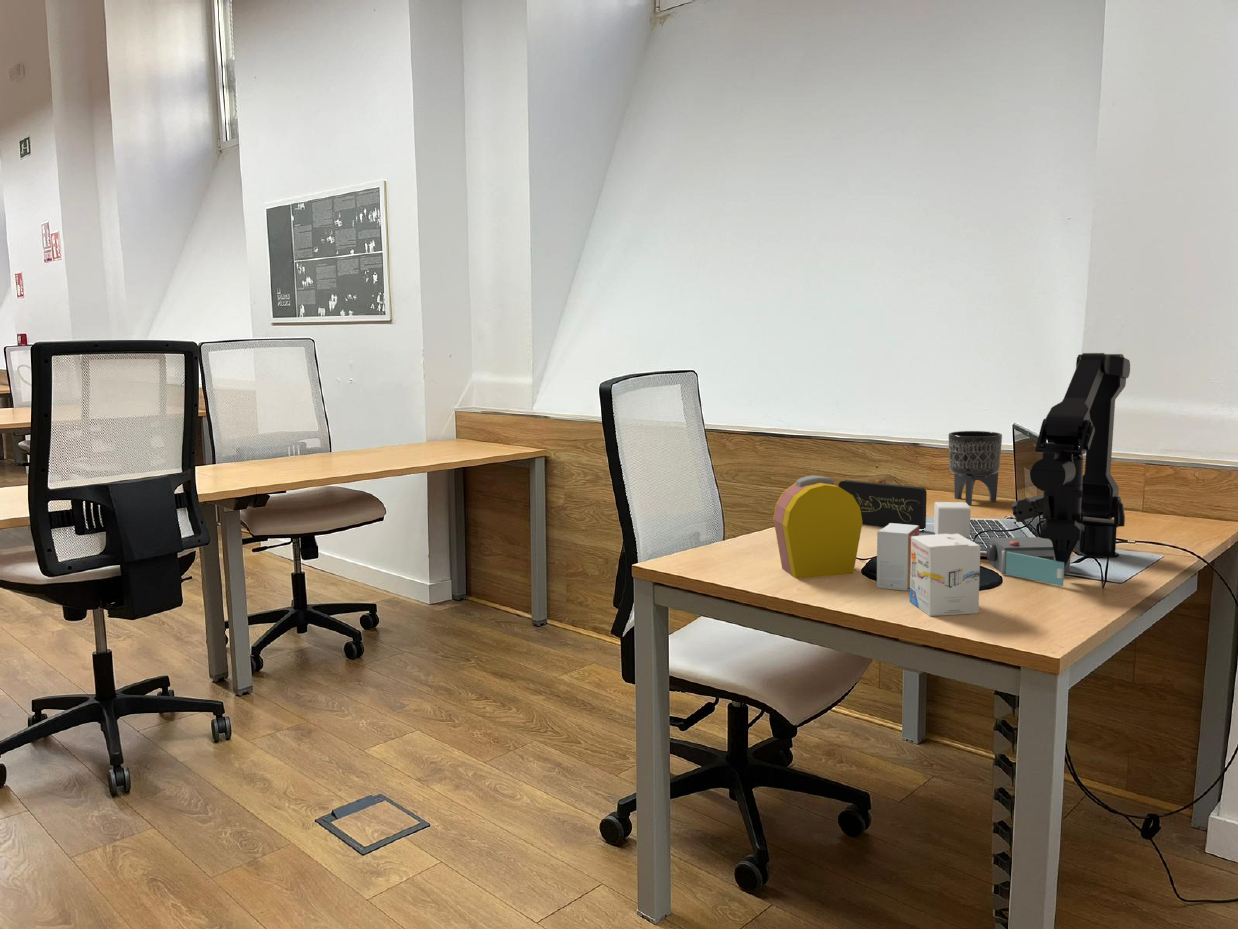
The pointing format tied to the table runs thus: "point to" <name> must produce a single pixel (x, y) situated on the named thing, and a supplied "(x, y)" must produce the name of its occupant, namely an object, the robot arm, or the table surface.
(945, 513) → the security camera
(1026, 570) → the side door
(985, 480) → the planter
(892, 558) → the small box
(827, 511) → the yellow arched block
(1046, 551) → the box
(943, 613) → the ink box
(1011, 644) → the table surface
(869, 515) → the nameplate
